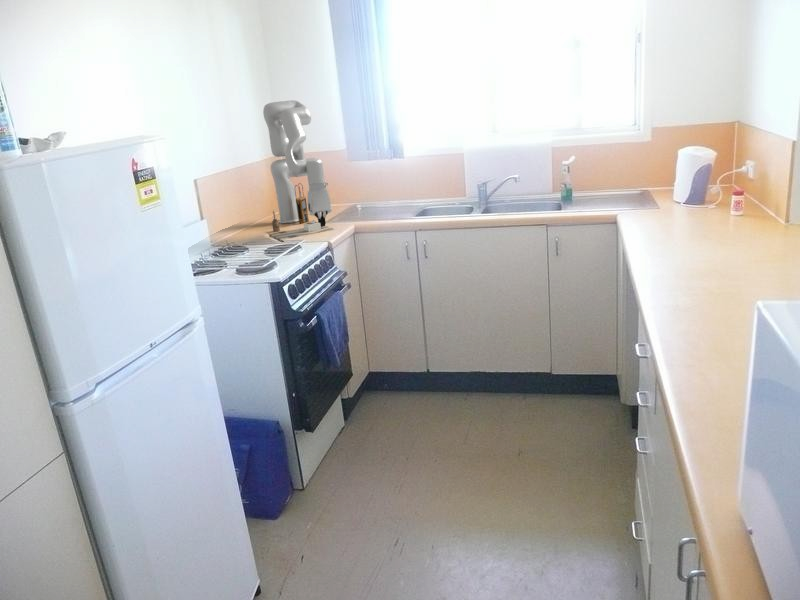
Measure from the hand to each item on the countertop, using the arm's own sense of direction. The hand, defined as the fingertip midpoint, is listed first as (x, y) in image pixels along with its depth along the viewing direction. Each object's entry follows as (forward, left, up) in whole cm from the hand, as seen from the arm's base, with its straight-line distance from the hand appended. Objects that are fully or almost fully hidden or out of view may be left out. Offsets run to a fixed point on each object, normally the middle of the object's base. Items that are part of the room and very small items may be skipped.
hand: (322, 226), depth 310 cm
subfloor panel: (0, -10, -2) cm, 10 cm away
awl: (-13, -18, -2) cm, 23 cm away
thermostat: (0, -5, -1) cm, 5 cm away
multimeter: (-23, +3, -2) cm, 23 cm away
